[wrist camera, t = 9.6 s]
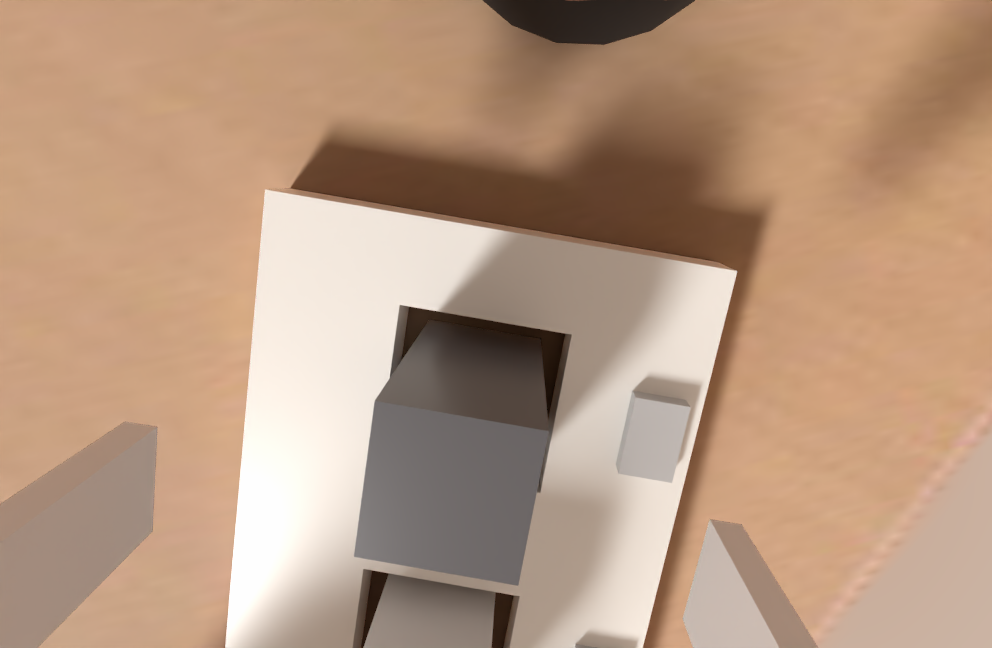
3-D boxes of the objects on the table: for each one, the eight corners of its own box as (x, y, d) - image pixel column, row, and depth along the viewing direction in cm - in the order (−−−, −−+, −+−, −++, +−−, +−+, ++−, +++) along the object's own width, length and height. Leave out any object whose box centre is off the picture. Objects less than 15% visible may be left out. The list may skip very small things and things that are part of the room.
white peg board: (289, 188, 26) (85, 200, 14) (717, 262, 26) (882, 338, 14) (240, 699, 32) (63, 1025, 19) (595, 762, 31) (638, 1130, 19)
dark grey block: (429, 319, 27) (374, 400, 17) (540, 338, 27) (548, 431, 17) (413, 424, 28) (353, 556, 18) (521, 443, 28) (518, 585, 18)
